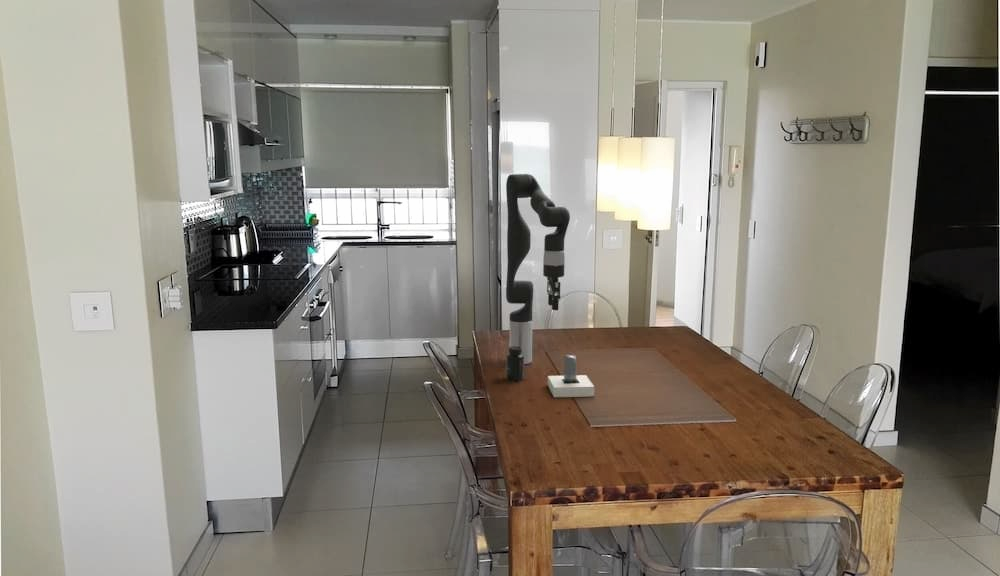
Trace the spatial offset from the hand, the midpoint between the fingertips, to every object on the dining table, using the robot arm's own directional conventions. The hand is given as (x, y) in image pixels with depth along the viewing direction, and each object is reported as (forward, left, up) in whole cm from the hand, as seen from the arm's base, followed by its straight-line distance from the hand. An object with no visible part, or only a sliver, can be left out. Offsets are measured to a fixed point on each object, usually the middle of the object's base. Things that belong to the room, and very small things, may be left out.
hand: (553, 307), depth 262 cm
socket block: (+10, +5, -28) cm, 30 cm away
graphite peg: (+10, +5, -28) cm, 30 cm away
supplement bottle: (-6, -13, -28) cm, 32 cm away
